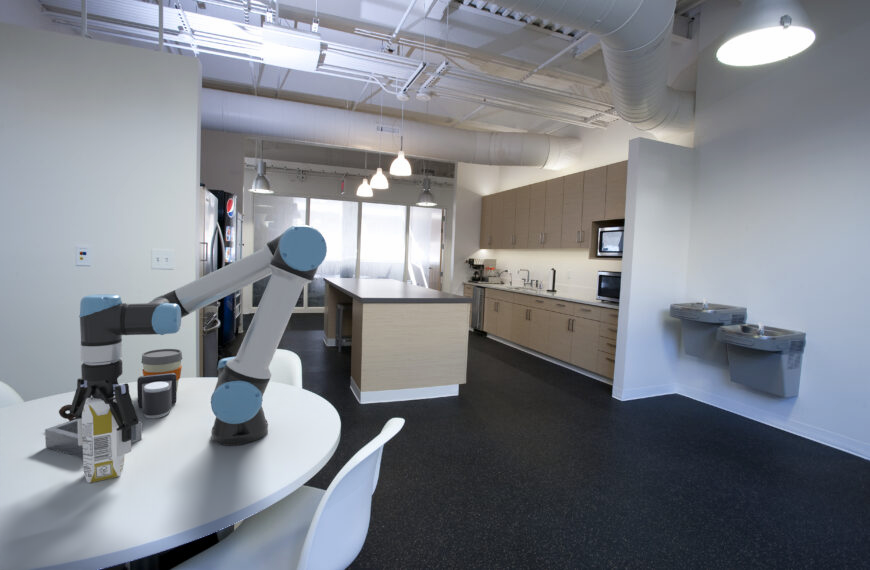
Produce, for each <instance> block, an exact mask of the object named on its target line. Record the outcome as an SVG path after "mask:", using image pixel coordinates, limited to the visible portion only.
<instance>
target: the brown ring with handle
mask: <svg viewBox="0 0 870 570" xmlns="http://www.w3.org/2000/svg"><path fill="white" fill-rule="evenodd" d="M71 405H72V404H65V405H63V406H62V407H60V409H59V410H58V413H59V414H58V415H60V417H61V418H62V419H66V420H69V421H72V420H74V419H76V418H75V414H70V408H71ZM78 407H79V406H78ZM67 411H68V412H67ZM69 421H68V422H69Z"/></svg>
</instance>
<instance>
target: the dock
mask: <svg viewBox="0 0 870 570" xmlns="http://www.w3.org/2000/svg"><path fill="white" fill-rule="evenodd" d="M77 426H78V425H77V418H74V419H73V420H72V421H67V422H64V423H60V424H58V425H53V426H52V427H51V426H50V427H48V428H45V429H44V433H45V434H44V438H45V448H46V447H47V448H46V449H49V448H50V450H53V449H54V450H53V451H56V450H58V451H57V452H59V451H61V452H60V453H63V452H64V454H66V453H67V454H66V455H71V456H74V457H75V458H76V457H77V458H81V459H83V445H81V446H79V445H78V428H77ZM142 433H143V432H142V421H139V423H138V424H137V425H134V426H132V427H131V444H134V443H135V442H139V441H141V440H142V439H143V438H142V436H143V435H142Z"/></svg>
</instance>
